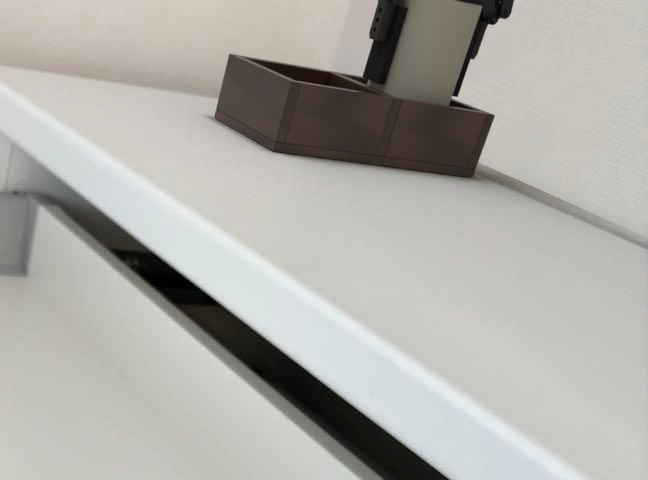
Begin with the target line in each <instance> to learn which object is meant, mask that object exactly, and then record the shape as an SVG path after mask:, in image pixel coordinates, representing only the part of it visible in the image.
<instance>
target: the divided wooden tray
mask: <svg viewBox="0 0 648 480" xmlns="http://www.w3.org/2000/svg"><path fill="white" fill-rule="evenodd" d="M362 76H363V75H362ZM362 76H361V75H355V74H351V73H345V72H339V71H334V70H333V71H332V70H328V69H327V70H326V69H323V68H322V69H321V68H317V67H310V66H304V65H298V64H292V63H286V62H280V61H277V60H270V59H264V58H257V57H252V56H246V55H240V54H235V53H228V58H227V61H226V65H225V70H224V73H223V78H222V83H221V87H220V91H219V95H218V99H217V104H216V108H215V111H214V116H213V119H215V120H217V121H218V122H220V123H222V124H224V125H225V126H227V127H230V128H231V129H233V130H234V131H236V132H238V133H240V134H241V135H243V136H245V137H247V138H249V139H250V140H253V141H254V142H255V143H257V144H260V145H261V146H262V147H265V148H266V149H268V150H270V151H272V152H276V153H284V154H292V155H298V156H307V157H313V158H322V159H328V160H337V161H345V162H352V163H359V164H365V165H366V164H367V165H373V166H382V167H388V168H397V169H404V170H405V169H406V170H413V171H417V172H418V171H419V172H427V173H434V174H442V175H447V176H448V175H449V176H458V177H464V178H471V179H472V178H474V175H475V172H476V169H477V167H478V164H479V161H480V159H481V156H482V153H483V150H484V147H485V144H486V143H487V139H488V136H489V134H490V131H491V128H492V125H493V122H494V119H495V116H496V115H495V114H493V113H491V112H488V111H486V110H483V109H480V108H478V107H475V106H472V105H470V104H467V103H466V102H463V101H459V100H457V99H455V98H453V97H452V98H451V101H450V104H449V106H446V105H440V104H434V103H428V102H422V101H416V100H410V99H404V98H397V97H394V96H392V95H389V94H387V93H385V92H382V91H380V90H377V89H375V88H372V87H370V86H368V85H367V83H368V79H366V78H364V77H362Z"/></svg>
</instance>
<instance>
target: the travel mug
mask: <svg viewBox="0 0 648 480" xmlns="http://www.w3.org/2000/svg"><path fill="white" fill-rule="evenodd" d="M484 1H485V0H403V1H402V2H401V3H400V4H398V5H399V6H403V7H406V8H408V11H407V14H406V17H405V21H404V24H403V27H402V30H401V34H400V37H399V40H398V43H397V47H396V50H395V53H394V56H393V59H392V63H391V66H390V69H389V72H388V76H387V79H386V82H385V85H384V84H379V83H376V82H373V81H371V80H368V83H367V85H368V86H370V87H372V88H375V89H377V90H380V91H382V92H385V93H387V94H389V95H392V96H394V97H397V98H404V99H410V100H416V101H422V102H428V103H434V104H440V105H446V106H449V104H450V101H451V98H452V99H453V96H452V95H453V92H454V89H455V86H456V83H457V80H458V77H459V74H460V71H461V69H462V66H463V63H464V60H465V57H466V54H467V51H468V48H469V45H470V42H471V39H472V36H473V33H474V30H475V27H476V24H477V22H478V19H479V16H480V13H481V10H482V7H483V6H482V5H483V4H484Z"/></svg>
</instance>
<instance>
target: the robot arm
mask: <svg viewBox="0 0 648 480" xmlns="http://www.w3.org/2000/svg"><path fill="white" fill-rule="evenodd" d="M402 1H403V0H377V5H376V8H375V11H374V15H373V18H372V21H371V25H370V29H369V32H368V35H369V36H368V39H370V40H372V44H371V47H370V50H369V54H368V57H367V60H366V63H365V66H364V70H363V73H362V77H364V78H366V79H368V80H371V81H373V82H376V83H379V84H384V85H385V82H386V79H387V76H388V72H389V69H390V66H391V63H392V59H393V56H394V53H395V50H396V47H397V43H398V40H399V37H400V34H401V30H402V27H403V24H404V21H405V17H406V14H407V11H408V8H406V7H403V6H399V5H398V4H400V3H401V2H402ZM514 3H515V0H485V1H484V4H483V5H482V6H483V7H482V10H481V13H480V16H479V19H478V22H477V24H476V27H475V30H474V33H473V36H472V39H471V42H470V45H469V48H468V51H467V54H466V57H465V60H464V63H463V66H462V69H461V71H460V74H459V77H458V80H457V83H456V86H455V89H454V92H453V95H452V97H454V98H458V97H459V94H460V91H461V89H462V86H463V83H464V80H465V77H466V74H467V72H468V71H467V70H468V68H469V66H470V62H471V60H475V59H476V57H477V56H478V55H479V51H480V47H481V45H482V43H483V39H484V36H485V33H486V31H487V28H488V26H489V25H490V26H494V25H496V24H497V23H498V22H499V20H507V19H508V18H509V17H510V16H511V14H512V12H513V7H514Z"/></svg>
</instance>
